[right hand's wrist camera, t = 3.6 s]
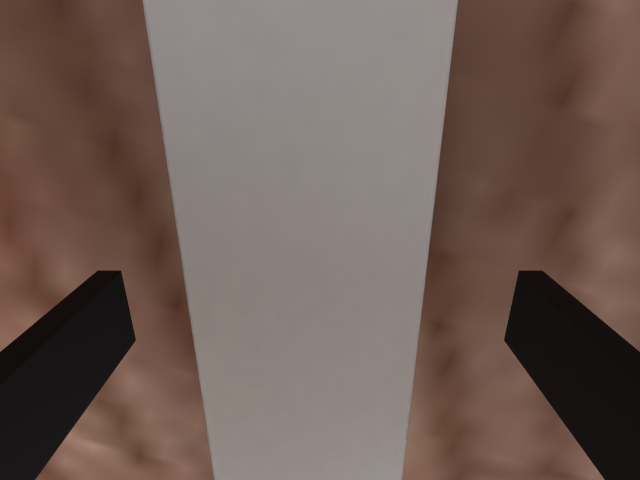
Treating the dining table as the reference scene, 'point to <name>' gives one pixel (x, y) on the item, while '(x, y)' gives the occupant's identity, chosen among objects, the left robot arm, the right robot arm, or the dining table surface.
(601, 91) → the dining table surface
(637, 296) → the dining table surface
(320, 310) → the bar
